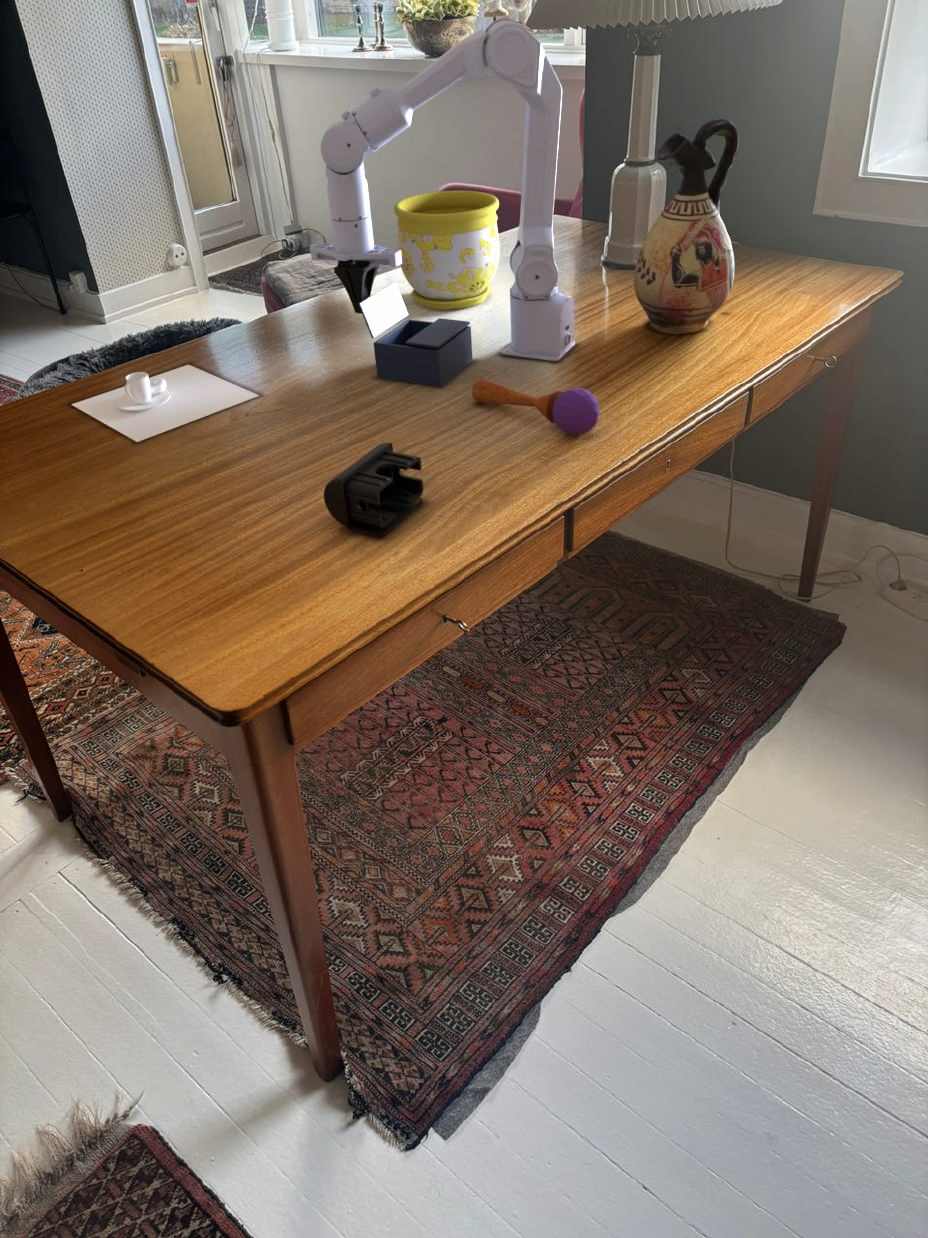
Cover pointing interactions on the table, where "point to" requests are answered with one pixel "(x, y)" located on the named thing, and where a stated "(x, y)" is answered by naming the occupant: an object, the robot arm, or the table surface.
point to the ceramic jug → (689, 238)
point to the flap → (383, 309)
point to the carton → (424, 351)
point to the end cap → (375, 492)
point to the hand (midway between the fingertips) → (362, 311)
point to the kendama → (546, 405)
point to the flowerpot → (449, 246)
